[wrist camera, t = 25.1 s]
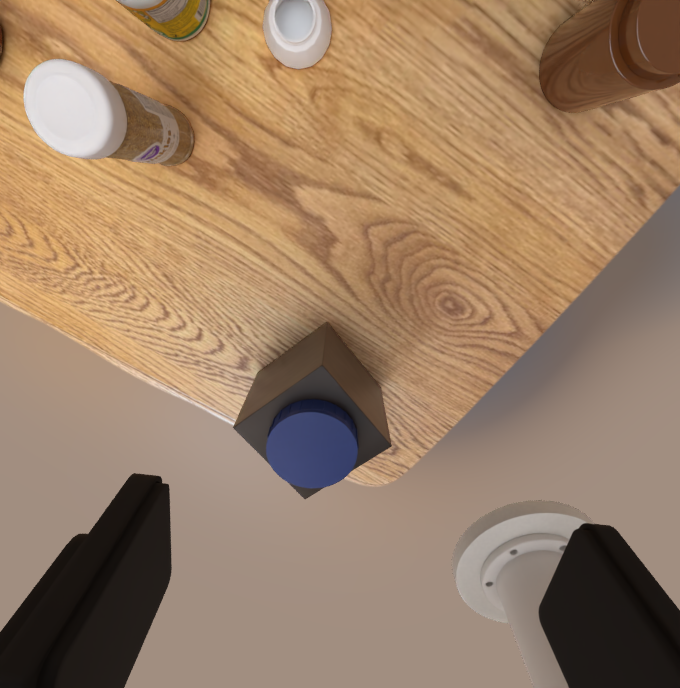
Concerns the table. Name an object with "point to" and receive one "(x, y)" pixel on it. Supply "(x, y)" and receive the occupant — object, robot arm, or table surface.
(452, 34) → the table surface
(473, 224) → the table surface
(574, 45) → the jar
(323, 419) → the lid
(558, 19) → the table surface
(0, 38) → the sauce bottle
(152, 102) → the spice jar
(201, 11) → the supplement bottle
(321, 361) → the stand
